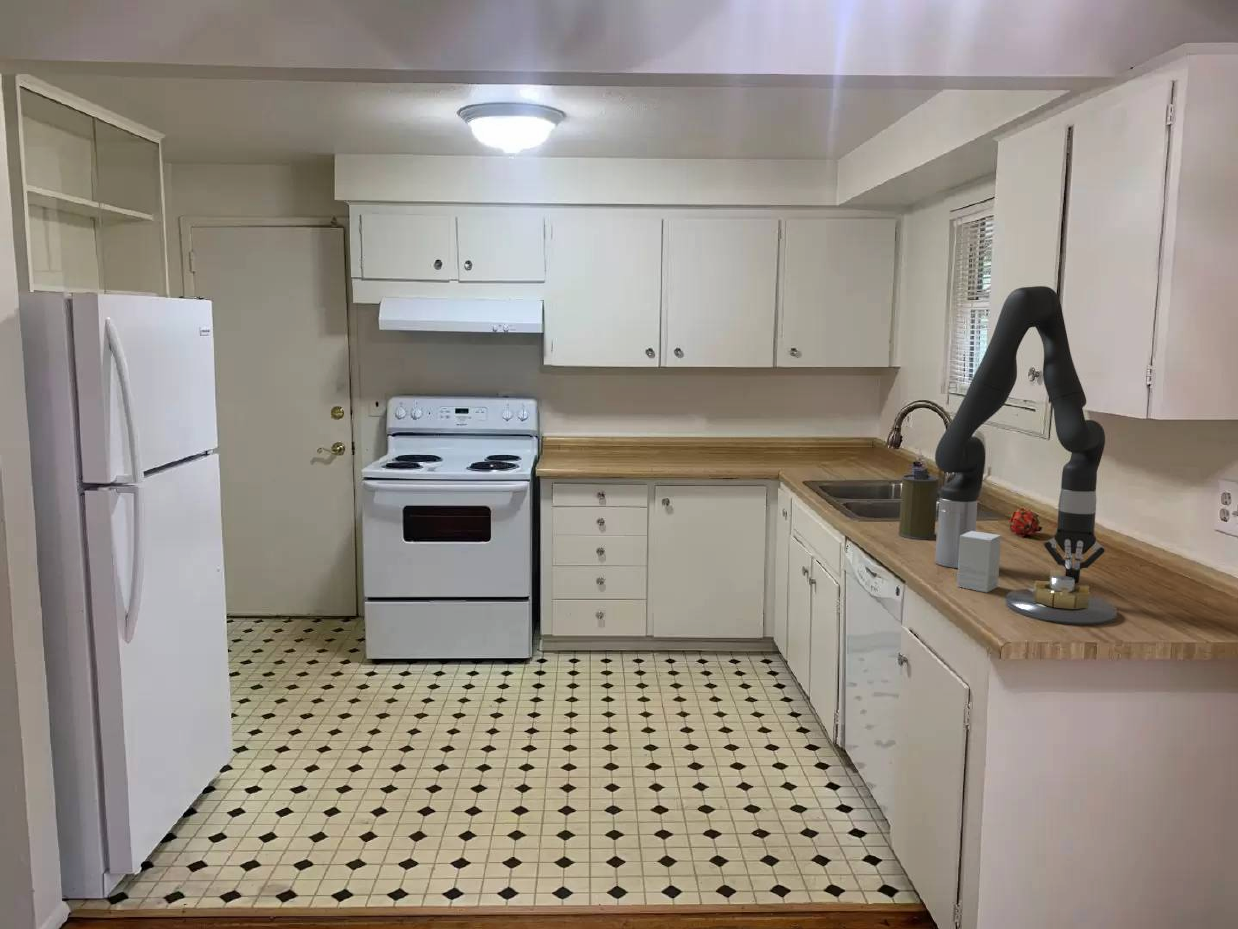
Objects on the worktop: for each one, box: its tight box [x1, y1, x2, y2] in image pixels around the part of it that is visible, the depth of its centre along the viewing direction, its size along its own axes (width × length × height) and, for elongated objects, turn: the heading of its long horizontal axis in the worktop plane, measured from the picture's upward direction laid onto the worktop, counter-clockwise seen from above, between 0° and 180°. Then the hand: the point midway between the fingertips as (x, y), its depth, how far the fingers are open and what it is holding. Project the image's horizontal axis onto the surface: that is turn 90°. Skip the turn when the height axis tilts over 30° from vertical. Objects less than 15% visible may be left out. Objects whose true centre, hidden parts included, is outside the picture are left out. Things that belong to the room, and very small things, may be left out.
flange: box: [1005, 575, 1118, 626], centre depth 204 cm, size 22×22×7 cm
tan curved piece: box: [1033, 569, 1091, 609], centre depth 207 cm, size 16×11×4 cm, turn 162°
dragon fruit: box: [1008, 508, 1043, 538], centre depth 278 cm, size 8×8×12 cm
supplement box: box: [956, 530, 1002, 593], centre depth 221 cm, size 7×7×13 cm
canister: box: [897, 467, 940, 540], centre depth 274 cm, size 11×10×20 cm
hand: (1071, 584), depth 212 cm, fingers closed
